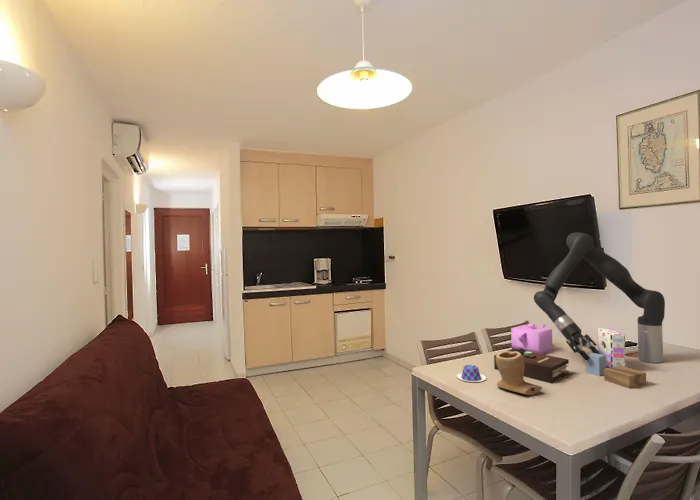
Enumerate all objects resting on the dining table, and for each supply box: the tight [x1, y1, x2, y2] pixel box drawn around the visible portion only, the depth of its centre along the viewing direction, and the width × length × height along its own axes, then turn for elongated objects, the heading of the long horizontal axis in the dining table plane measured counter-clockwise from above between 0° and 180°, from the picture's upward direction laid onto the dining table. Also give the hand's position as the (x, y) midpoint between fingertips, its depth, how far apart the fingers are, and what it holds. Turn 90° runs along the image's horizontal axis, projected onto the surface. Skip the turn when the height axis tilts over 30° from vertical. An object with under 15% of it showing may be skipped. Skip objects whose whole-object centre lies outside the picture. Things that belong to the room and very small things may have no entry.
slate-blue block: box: [586, 352, 607, 377], centre depth 168 cm, size 5×5×8 cm
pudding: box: [456, 364, 487, 383], centre depth 167 cm, size 12×12×5 cm
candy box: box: [597, 327, 626, 369], centre depth 176 cm, size 14×6×16 cm, turn 168°
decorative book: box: [493, 347, 570, 384], centre depth 174 cm, size 19×8×30 cm
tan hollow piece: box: [495, 350, 543, 396], centre depth 152 cm, size 15×12×15 cm
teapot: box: [510, 323, 553, 355], centre depth 207 cm, size 15×25×14 cm, turn 125°
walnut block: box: [603, 366, 647, 390], centre depth 157 cm, size 10×10×5 cm
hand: (593, 357), depth 169 cm, fingers open, 8 cm apart
